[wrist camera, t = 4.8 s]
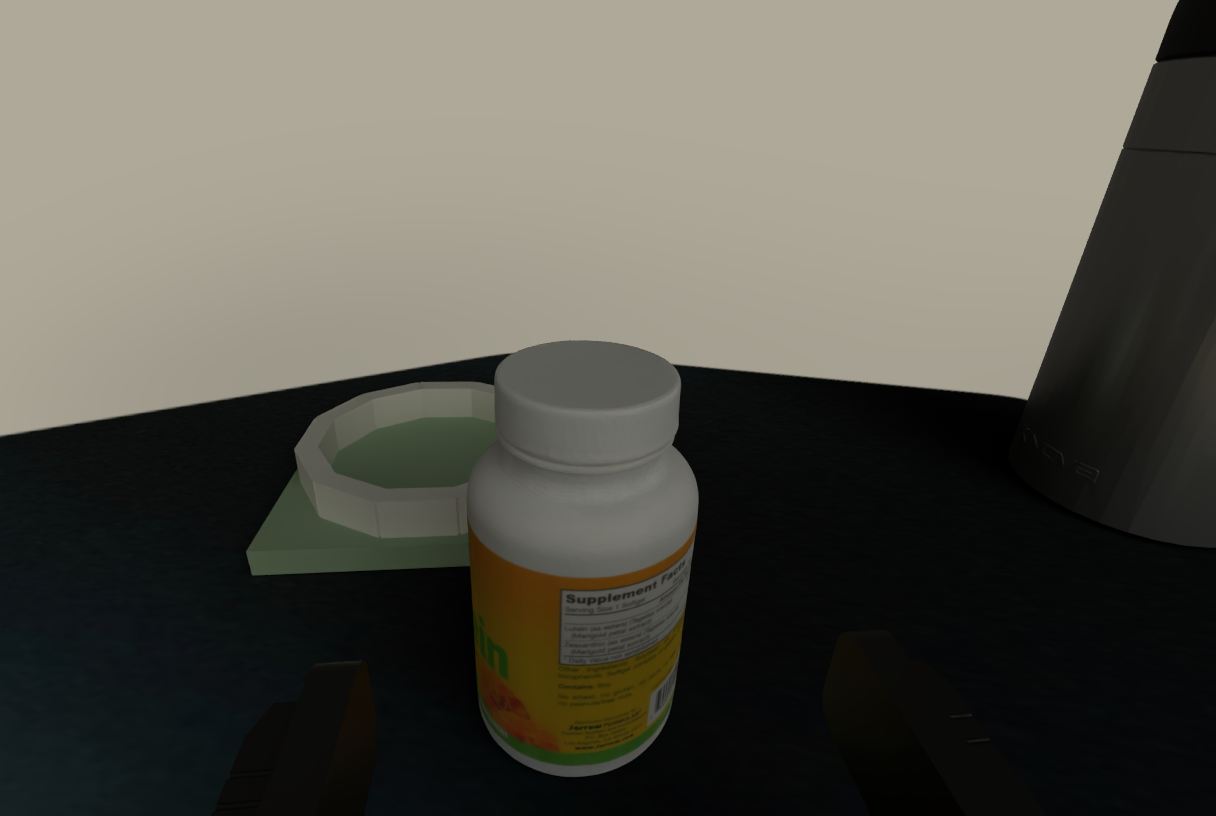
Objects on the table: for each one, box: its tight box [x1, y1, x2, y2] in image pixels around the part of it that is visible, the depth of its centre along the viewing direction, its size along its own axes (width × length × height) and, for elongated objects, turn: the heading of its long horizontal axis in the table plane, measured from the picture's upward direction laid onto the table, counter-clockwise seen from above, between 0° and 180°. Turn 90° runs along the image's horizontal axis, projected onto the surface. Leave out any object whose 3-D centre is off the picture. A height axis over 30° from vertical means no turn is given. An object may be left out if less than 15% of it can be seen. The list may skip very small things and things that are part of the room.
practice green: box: [246, 382, 498, 575], centre depth 26 cm, size 11×11×2 cm
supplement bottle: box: [467, 341, 698, 777], centre depth 15 cm, size 5×5×10 cm
